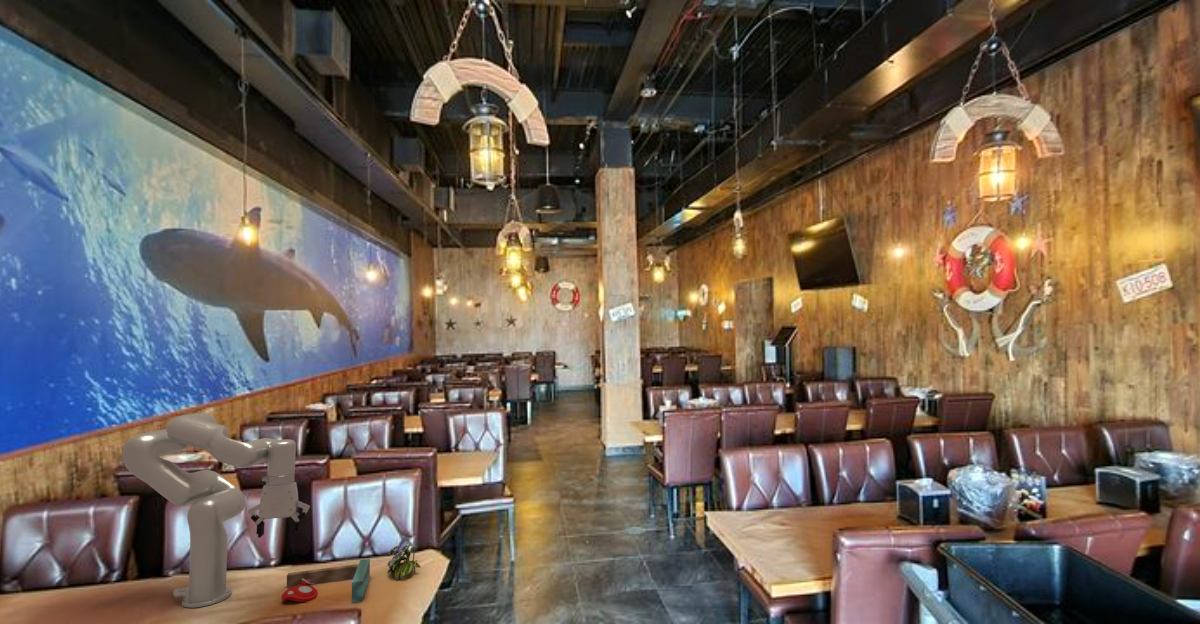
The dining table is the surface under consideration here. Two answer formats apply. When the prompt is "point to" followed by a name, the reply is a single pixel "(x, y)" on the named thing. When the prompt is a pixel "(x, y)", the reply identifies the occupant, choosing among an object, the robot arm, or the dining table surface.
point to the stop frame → (337, 577)
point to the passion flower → (406, 565)
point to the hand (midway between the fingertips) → (278, 535)
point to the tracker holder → (300, 592)
